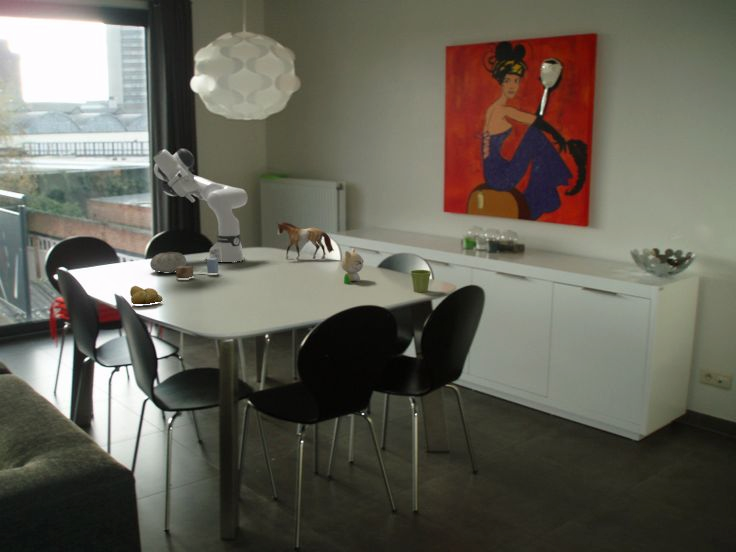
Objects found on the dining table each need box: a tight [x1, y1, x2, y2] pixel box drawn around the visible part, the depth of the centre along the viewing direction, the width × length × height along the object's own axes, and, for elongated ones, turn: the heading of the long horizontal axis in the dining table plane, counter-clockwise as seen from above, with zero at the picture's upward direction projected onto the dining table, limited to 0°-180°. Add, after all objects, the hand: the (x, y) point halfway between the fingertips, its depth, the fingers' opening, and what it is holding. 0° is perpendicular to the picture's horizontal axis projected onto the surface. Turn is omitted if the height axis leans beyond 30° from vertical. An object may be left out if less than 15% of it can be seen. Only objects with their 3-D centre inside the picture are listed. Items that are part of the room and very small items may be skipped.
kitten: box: [341, 247, 365, 285], centre depth 375 cm, size 15×10×15 cm, turn 161°
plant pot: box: [409, 269, 432, 293], centre depth 352 cm, size 9×9×9 cm
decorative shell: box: [149, 251, 187, 273], centre depth 405 cm, size 18×18×10 cm
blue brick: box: [206, 258, 219, 274], centre depth 396 cm, size 4×4×8 cm
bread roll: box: [129, 285, 164, 304], centre depth 332 cm, size 13×10×8 cm
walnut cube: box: [175, 265, 195, 278], centre depth 386 cm, size 6×6×6 cm
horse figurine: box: [275, 222, 335, 260], centre depth 435 cm, size 31×8×21 cm, turn 85°
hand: (197, 200), depth 390 cm, fingers open, 8 cm apart
